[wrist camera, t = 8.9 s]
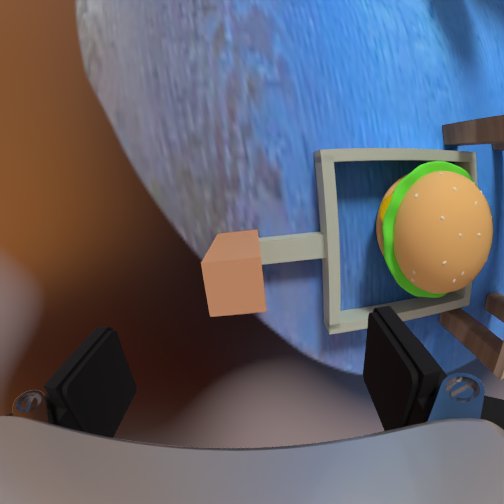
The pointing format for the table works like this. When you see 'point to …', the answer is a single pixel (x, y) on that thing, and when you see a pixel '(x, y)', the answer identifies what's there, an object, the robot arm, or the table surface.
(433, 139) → the table surface
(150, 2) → the table surface
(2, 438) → the robot arm
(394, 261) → the hamburger
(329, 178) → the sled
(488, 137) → the tunnel
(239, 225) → the table surface
